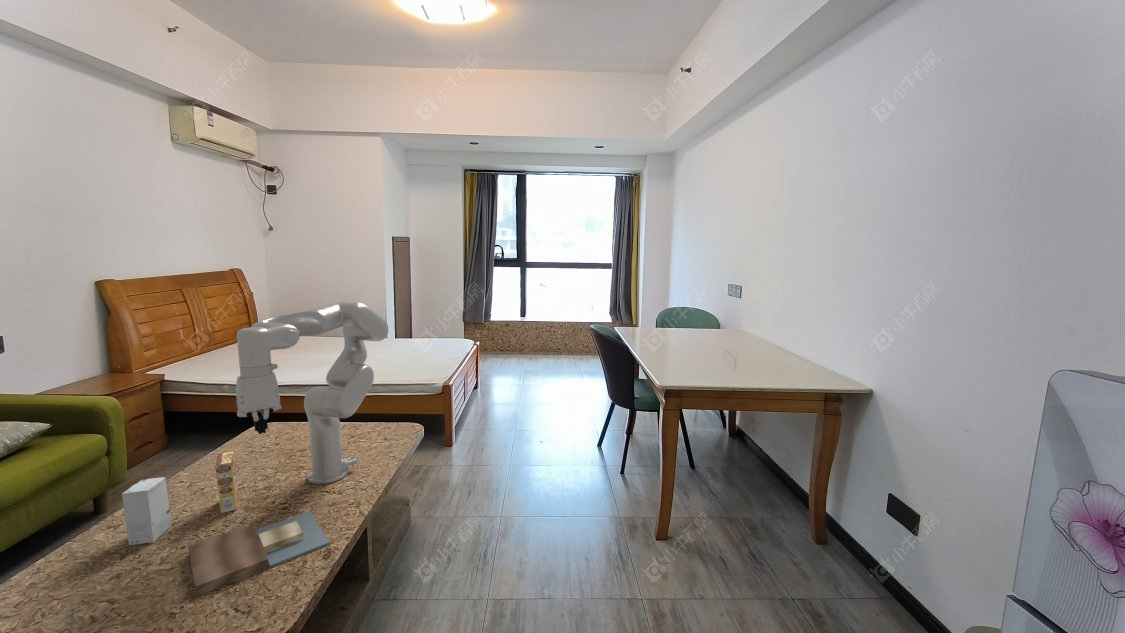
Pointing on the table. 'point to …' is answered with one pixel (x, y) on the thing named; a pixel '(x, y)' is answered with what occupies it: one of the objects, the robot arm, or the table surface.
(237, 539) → the block
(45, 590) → the table surface
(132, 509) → the skincare box
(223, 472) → the candy box
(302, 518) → the mat
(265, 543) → the tile
